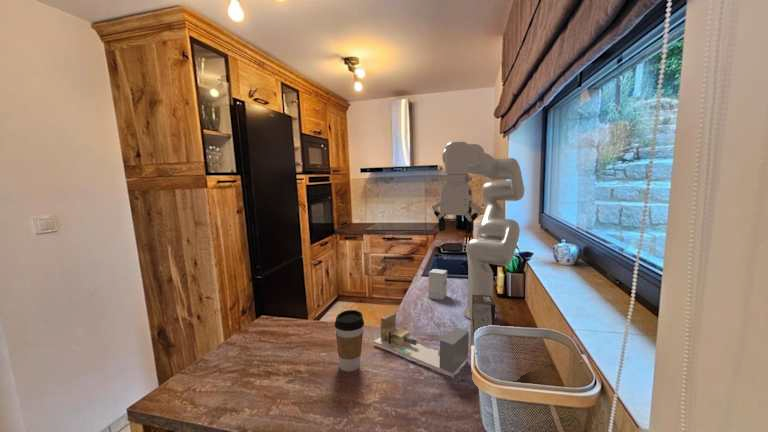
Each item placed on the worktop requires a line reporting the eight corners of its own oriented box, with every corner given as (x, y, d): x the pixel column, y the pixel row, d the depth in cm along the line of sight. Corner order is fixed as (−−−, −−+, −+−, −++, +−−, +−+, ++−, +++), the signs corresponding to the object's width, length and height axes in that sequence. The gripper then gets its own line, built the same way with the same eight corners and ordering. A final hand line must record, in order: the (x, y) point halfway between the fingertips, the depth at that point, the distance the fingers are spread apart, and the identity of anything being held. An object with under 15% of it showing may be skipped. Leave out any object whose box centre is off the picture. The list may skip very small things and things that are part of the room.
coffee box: (494, 356, 93) (496, 304, 92) (472, 353, 94) (473, 303, 93) (490, 341, 102) (491, 294, 100) (470, 339, 103) (471, 293, 102)
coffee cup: (368, 360, 90) (368, 311, 89) (357, 376, 82) (356, 323, 81) (343, 355, 93) (342, 308, 92) (329, 370, 85) (328, 319, 84)
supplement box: (443, 300, 140) (443, 273, 139) (427, 298, 143) (428, 271, 142) (447, 295, 147) (447, 270, 146) (432, 293, 150) (432, 268, 149)
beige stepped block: (378, 341, 98) (378, 319, 98) (391, 332, 104) (391, 312, 104) (407, 353, 91) (407, 329, 91) (420, 343, 97) (421, 321, 96)
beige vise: (373, 345, 99) (373, 317, 98) (392, 334, 107) (392, 308, 106) (452, 378, 82) (453, 344, 81) (467, 362, 89) (468, 331, 89)
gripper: (486, 180, 97) (484, 233, 99) (438, 181, 108) (437, 229, 110) (477, 179, 92) (476, 235, 93) (427, 180, 102) (426, 231, 104)
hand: (455, 232), depth 101 cm, fingers open, 9 cm apart
